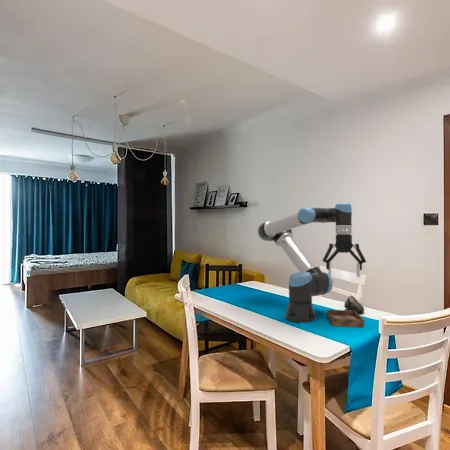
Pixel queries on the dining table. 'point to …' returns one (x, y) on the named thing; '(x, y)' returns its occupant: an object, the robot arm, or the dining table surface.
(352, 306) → the fossil
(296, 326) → the dining table surface
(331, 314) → the walnut tray
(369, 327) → the dining table surface
